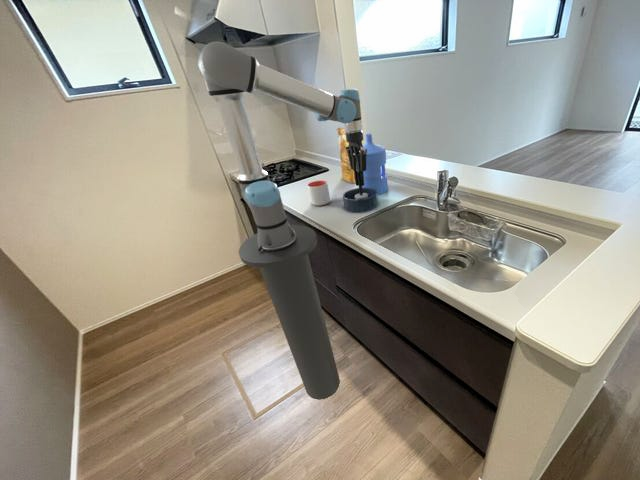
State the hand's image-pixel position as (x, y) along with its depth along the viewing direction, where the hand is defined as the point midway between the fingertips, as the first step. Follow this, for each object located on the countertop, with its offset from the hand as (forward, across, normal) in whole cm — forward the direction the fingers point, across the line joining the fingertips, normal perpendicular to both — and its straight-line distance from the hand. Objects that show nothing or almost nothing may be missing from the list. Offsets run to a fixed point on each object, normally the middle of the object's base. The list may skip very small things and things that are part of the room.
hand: (360, 185), depth 141 cm
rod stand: (+6, 0, 0) cm, 6 cm away
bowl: (+9, -1, +2) cm, 9 cm away
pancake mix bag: (+9, +37, -19) cm, 43 cm away
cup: (+10, +19, +13) cm, 24 cm away
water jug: (+9, +10, -15) cm, 21 cm away
